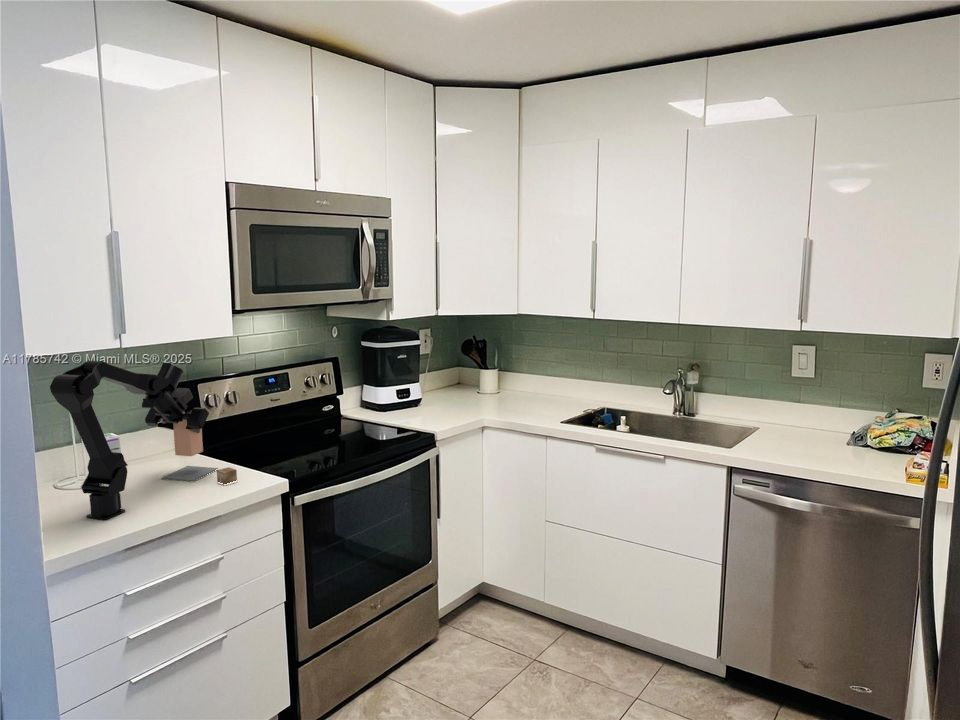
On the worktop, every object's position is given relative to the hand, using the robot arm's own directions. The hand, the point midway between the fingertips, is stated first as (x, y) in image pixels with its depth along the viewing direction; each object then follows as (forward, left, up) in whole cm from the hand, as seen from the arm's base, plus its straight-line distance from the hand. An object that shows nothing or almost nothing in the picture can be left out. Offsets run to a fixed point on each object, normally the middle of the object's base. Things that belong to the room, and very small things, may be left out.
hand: (190, 431), depth 206 cm
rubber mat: (-1, 0, -13) cm, 13 cm away
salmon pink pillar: (-1, 0, -7) cm, 7 cm away
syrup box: (-15, +17, -14) cm, 27 cm away
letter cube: (-4, -16, -13) cm, 21 cm away
